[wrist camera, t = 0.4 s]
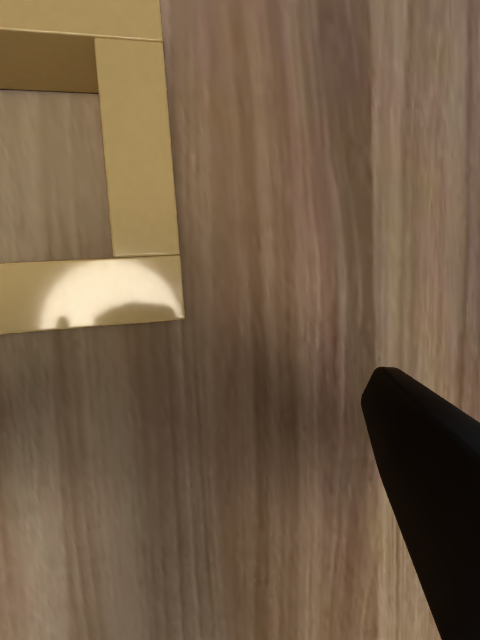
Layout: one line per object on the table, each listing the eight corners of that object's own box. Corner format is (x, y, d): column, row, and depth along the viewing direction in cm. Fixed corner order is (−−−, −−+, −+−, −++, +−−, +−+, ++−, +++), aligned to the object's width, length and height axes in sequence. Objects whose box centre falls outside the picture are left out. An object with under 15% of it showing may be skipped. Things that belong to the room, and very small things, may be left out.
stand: (177, 317, 19) (185, 319, 16) (-141, 343, 16) (-230, 353, 13) (155, 42, 19) (157, -28, 15) (-179, 17, 16) (-284, -78, 12)
